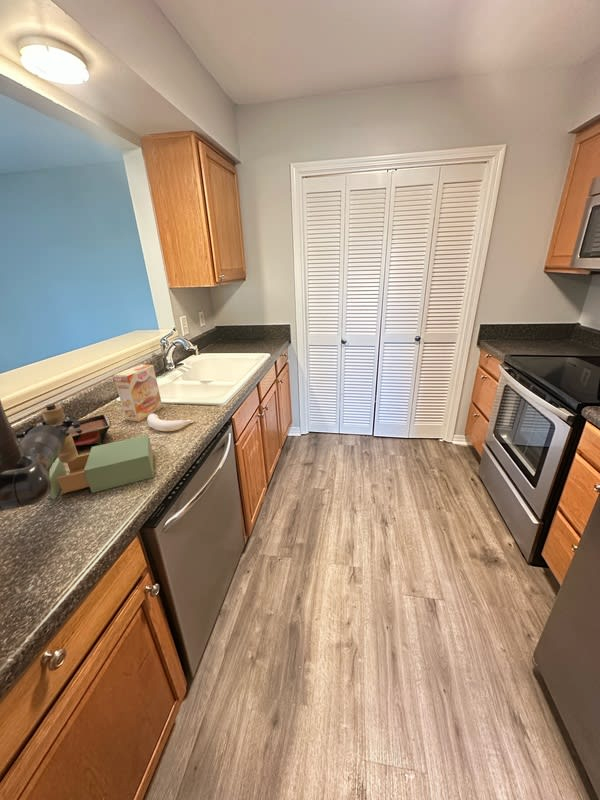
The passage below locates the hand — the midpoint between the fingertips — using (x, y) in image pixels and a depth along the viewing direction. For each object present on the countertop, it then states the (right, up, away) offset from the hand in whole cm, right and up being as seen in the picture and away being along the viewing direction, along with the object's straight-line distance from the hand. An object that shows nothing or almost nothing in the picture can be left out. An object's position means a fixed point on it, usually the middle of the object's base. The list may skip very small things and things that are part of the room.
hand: (58, 418), depth 88 cm
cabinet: (+13, -16, +9) cm, 23 cm away
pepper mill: (+1, -11, +2) cm, 11 cm away
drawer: (+2, -18, +5) cm, 19 cm away
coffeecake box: (0, -1, +50) cm, 50 cm away
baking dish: (-11, -10, +27) cm, 31 cm away
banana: (+14, -4, +39) cm, 42 cm away
